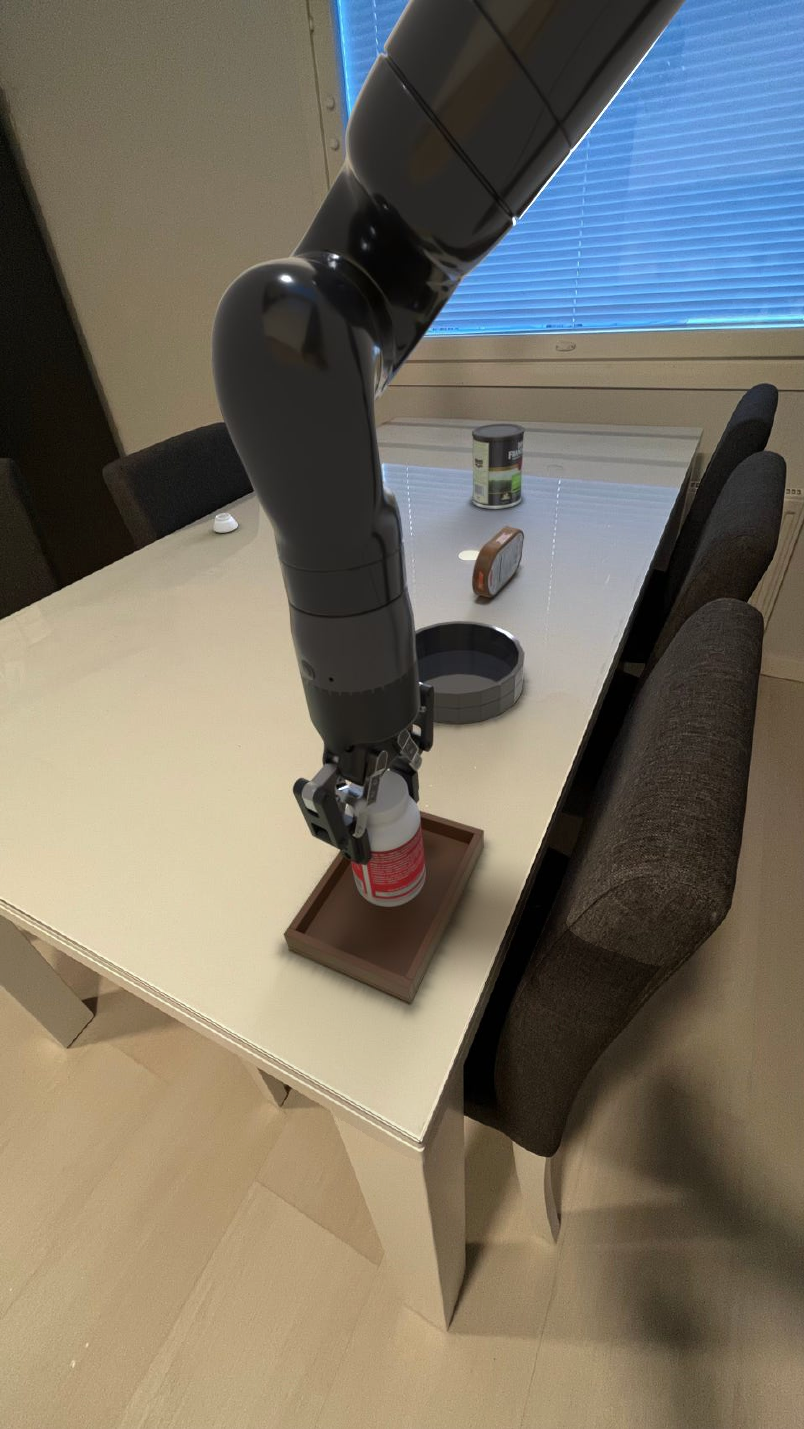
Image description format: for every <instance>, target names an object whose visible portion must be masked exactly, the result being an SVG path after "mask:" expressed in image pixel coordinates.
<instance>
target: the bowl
mask: <svg viewBox="0 0 804 1429" xmlns="http://www.w3.org/2000/svg"><path fill="white" fill-rule="evenodd" d="M415 636H416V650H417V662H418V674H419V682H421V683H424V684H426V685H430V686H433V687H434V723H441V724H449V725H450V724H451V725H461V724H473V723H478V722H483V721H486V720H489V719H493V718H494V717H497V716H500V715H501V714H503V713H504V712H506V711H507V710H509V709H510V708H511V707H512V706H513V705H514V704H516V702H517V701H518V700H519V698H520V696H521V694H522V692H523V687H524V686H523V684H524V673H525V672H524V670H525V669H524V668H525V656H526V655H525V651H524V648H523V646H522V644H521V642H520V640H519V639H517V638H516V637H515V636H513V635H512V634H511V633H510V632H509V631H507V630H504V629H503V628H500V627H497V626H496V625H493V624H488V623H483V622H479V621H470V620H469V621H467V620H452V621H444V622H438V623H434V624H433V623H432V624H430V625H427V626H424V627H421V628H418V629H415Z"/></svg>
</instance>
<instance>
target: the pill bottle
mask: <svg viewBox="0 0 804 1429" xmlns="http://www.w3.org/2000/svg"><path fill="white" fill-rule="evenodd" d="M349 786H350V787H352V788H354V789H357V790H359V791H361V792H363V787H361V786H358V785H356V784H354V783H351V782H350V784H349ZM419 811H420V808H419V806H418V803H417V804H416V803H415V801H414V800H413V799H412V798H411V797H410V796H409V792H408V787H407V783H406V781H405V780H404V778H403V777H402V776H400V775H399V774H397V773H395V772H392V771H390V770H389V769H388V770H386V771H385V773H384V774H383V776H382V777H381V779H380V784H379V789H378V795H377V800H376V804H375V805H374V806H372V807H370V808H369V811H368V816H367V822H366V829H367V831H368V837H369V843H370V848H371V854H372V859H371V860H370V861H369V862H368V863H367V865H362V864H360V863H359V865H358V864H356V863H354V862H352V861H351V865H352V869H353V873H354V878H355V882H356V886H357V888H358V890H359V892H360V894H361V895H362V896H363V897H364V898H365V899H366V900H368V901H369V902H371V903H373V904H376V905H379V906H384V907H394V906H399V905H402V904H404V903H406V902H408V901H410V900H411V899H413V898H414V897H415V896H416V895H417V894H418V893H419V892H420V890H421V889H422V887H423V885H424V882H425V876H426V871H425V860H424V849H423V839H422V829H421V819H420V813H419ZM353 813H354V809H353V807H352V806H350V805H348V804H347V805H346V809H345V814H347V815H349V816H351V817H353Z"/></svg>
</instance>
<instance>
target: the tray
mask: <svg viewBox="0 0 804 1429" xmlns="http://www.w3.org/2000/svg"><path fill="white" fill-rule="evenodd" d="M419 813H420V819H421V829H422V839H423V849H424V860H425V871H426V876H425V882H424V885H423V887H422V889H421V890H420V892H419V893H418V894H417V895H416V896H415V897H414V898H413V899H411V900H410V901H408V902H406V903H404V904H402V905H399V906H394V907H384V906H379V905H376V904H373V903H371V902H369V901H368V900H366V899H365V898H364V897H363V896H362V895H361V894H360V892H359V890H358V888H357V886H356V882H355V878H354V873H353V869H352V865H351V861H350V860H348V859H346V858H344V857H343V856H342V855H341V852H340V851H339V852H338V853H337V855H336V856H335V857H334V859H333V861H332V862H331V863H330V865H329V867H328V868H327V869H326V871H325V872H324V873H323V874H322V877H321V878H320V880H319V881H318V883H317V884H316V886H314V888H313V890H312V891H311V892H310V894H309V895H308V898H307V899H306V901H304V903H303V905H302V906H301V907H300V909H299V911H298V912H297V913H296V915H295V917H294V918H293V919H292V921H291V923H290V924H289V925H288V927H287V928H286V930H285V931H284V933H283V936H284V939H285V942H286V945H287V948H288V950H291V951H292V952H295V953H297V954H300V955H302V956H304V957H306V958H308V959H311V960H313V961H316V962H318V963H320V964H322V965H325V966H326V967H329V968H331V969H333V970H335V971H338V972H339V973H342V974H344V975H347V976H348V977H351V978H353V979H356V980H358V981H360V982H363V983H365V984H367V985H369V986H371V987H374V988H376V989H378V990H380V991H383V992H384V993H386V994H389V995H391V996H393V997H396V998H398V999H400V1000H403V1001H405V1002H407V1003H409V1004H412V1002H413V1000H414V998H415V995H416V994H417V991H418V989H419V988H420V987H419V986H420V984H421V982H422V980H423V979H424V976H425V974H426V972H427V969H428V967H429V965H430V963H431V961H432V959H433V957H434V955H435V952H436V950H437V948H438V946H439V943H440V941H441V939H442V938H443V936H444V933H445V930H446V929H447V926H448V924H449V922H450V920H451V919H452V916H453V913H454V911H455V909H456V908H457V905H458V903H459V900H460V899H461V896H462V894H463V892H464V891H465V888H466V885H467V883H468V881H469V879H470V876H471V874H472V873H473V870H474V868H475V866H476V864H477V861H478V859H479V858H480V856H481V853H482V851H483V849H484V846H485V829H481V828H478V827H474V826H471V825H468V824H464V823H461V822H458V821H454V820H451V819H448V818H445V817H442V816H439V815H435V814H432V813H429V812H427V811H423V810H419Z"/></svg>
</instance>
